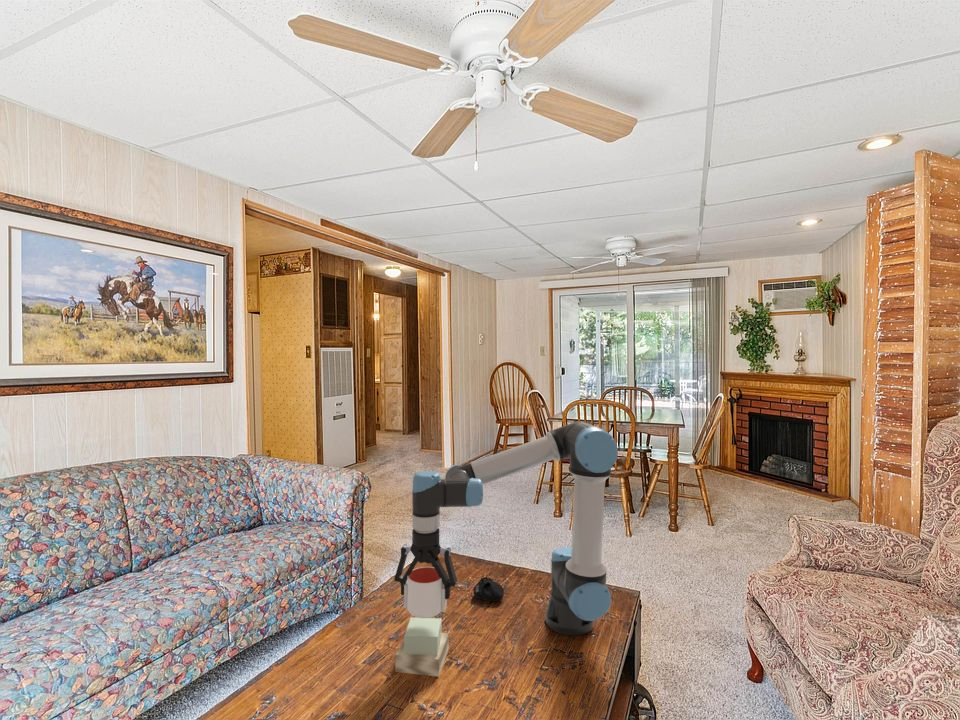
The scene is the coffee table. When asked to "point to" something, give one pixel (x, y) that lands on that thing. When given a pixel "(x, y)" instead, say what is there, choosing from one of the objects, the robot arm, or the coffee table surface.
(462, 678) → the coffee table surface
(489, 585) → the rock
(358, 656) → the coffee table surface
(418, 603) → the cup
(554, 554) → the robot arm
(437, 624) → the tower top
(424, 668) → the tower base
